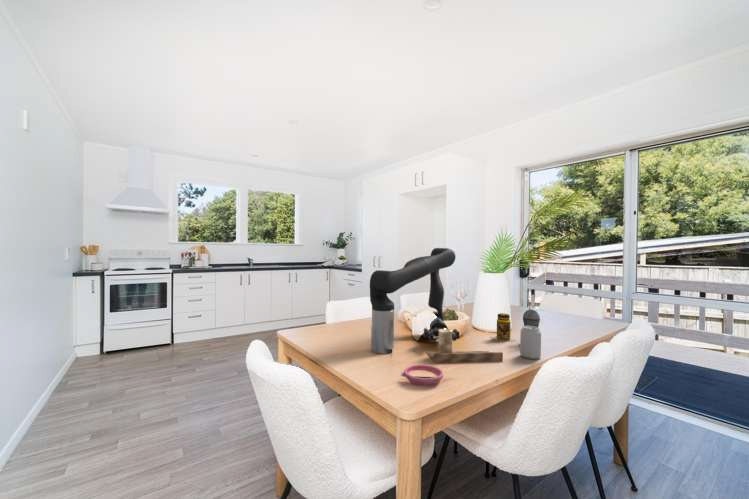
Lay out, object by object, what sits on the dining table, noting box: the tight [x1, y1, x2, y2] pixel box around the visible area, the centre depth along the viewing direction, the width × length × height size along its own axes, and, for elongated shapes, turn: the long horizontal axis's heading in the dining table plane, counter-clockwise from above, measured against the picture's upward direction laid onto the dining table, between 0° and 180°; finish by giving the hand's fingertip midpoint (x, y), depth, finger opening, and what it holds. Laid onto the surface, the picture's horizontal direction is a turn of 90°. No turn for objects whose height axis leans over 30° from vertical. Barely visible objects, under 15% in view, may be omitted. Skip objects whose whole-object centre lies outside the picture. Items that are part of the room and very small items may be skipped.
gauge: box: [437, 328, 453, 353], centre depth 123 cm, size 4×7×10 cm
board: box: [425, 350, 504, 364], centre depth 125 cm, size 26×12×4 cm, turn 97°
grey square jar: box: [519, 325, 542, 360], centre depth 130 cm, size 8×8×12 cm
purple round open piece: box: [403, 364, 444, 387], centre depth 106 cm, size 12×12×3 cm
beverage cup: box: [522, 299, 541, 328], centre depth 148 cm, size 7×7×20 cm
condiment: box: [490, 312, 514, 342], centre depth 156 cm, size 7×8×12 cm
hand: (443, 338), depth 128 cm, fingers open, 8 cm apart
